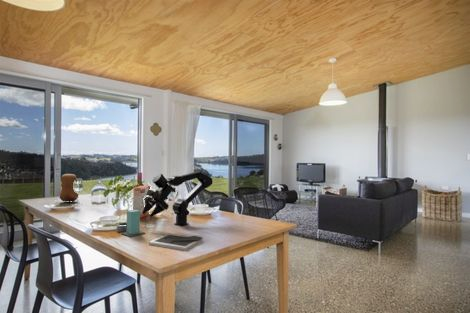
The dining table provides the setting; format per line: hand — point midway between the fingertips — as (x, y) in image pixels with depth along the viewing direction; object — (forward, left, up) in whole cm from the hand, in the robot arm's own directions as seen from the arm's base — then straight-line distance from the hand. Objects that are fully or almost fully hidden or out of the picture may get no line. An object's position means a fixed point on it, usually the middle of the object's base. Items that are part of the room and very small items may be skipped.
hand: (146, 214), depth 158 cm
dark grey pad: (+1, +8, -9) cm, 12 cm away
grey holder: (+13, +5, -9) cm, 16 cm away
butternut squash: (+129, -13, -10) cm, 130 cm away
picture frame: (-28, +3, -10) cm, 30 cm away
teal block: (+1, +8, -9) cm, 12 cm away
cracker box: (+35, -21, -10) cm, 42 cm away
